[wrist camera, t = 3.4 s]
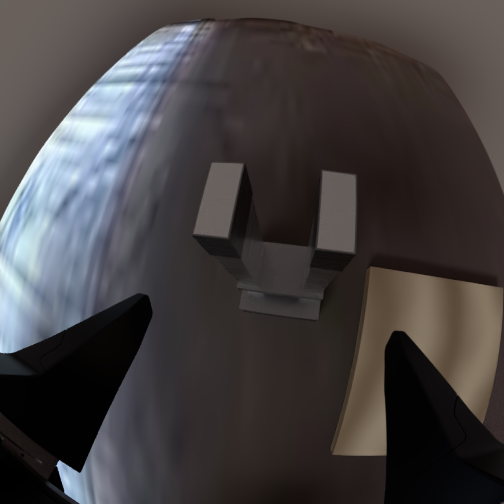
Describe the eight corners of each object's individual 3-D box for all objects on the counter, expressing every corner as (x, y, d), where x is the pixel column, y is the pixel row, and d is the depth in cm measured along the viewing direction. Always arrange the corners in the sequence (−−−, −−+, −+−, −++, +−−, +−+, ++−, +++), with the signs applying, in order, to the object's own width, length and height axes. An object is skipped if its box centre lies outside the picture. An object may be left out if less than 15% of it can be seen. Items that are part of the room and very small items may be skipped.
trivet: (330, 448, 16) (332, 454, 15) (366, 270, 19) (370, 266, 18) (469, 439, 13) (476, 442, 12) (495, 290, 17) (503, 288, 16)
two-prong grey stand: (243, 311, 20) (171, 273, 7) (254, 248, 21) (209, 134, 9) (314, 321, 19) (365, 299, 6) (322, 257, 20) (365, 146, 8)
